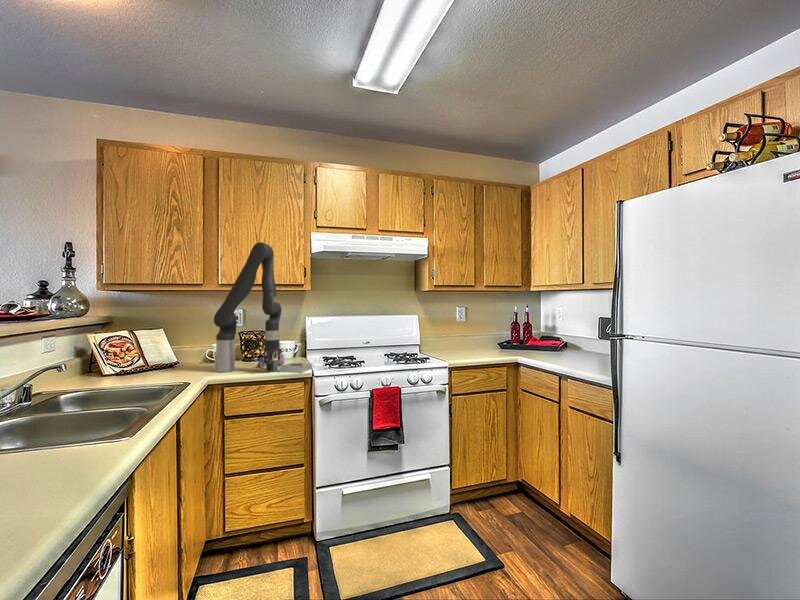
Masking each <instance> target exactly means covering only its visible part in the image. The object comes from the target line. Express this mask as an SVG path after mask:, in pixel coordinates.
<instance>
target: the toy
mask: <svg viewBox="0 0 800 600" xmlns="http://www.w3.org/2000/svg"><path fill="white" fill-rule="evenodd" d="M277 349H280V360H278V366H282V365H285V356H284V354H283V353H282V352H283V351H282V349H281V348H280V346H279V347H278V348H277ZM261 366H263V367H264V366H266V363H264V356H261V357H260V358H259V361H258V362H257V364H256V368H258V367H259V368H261Z"/></svg>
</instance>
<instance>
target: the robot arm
mask: <svg viewBox="0 0 800 600" xmlns="http://www.w3.org/2000/svg"><path fill="white" fill-rule="evenodd" d="M274 254H275V253H274V249H273V248H272V246H271V245H269V244H266V243H264V242H261V241H260V242H256V243H254V245H253V246H252V248H251V250H250V253H249V255H248V257H247V259H246V262H245V263H244V265H243V267H242V269H241V271H240V272H239V274H238V276H237V278H236V279H235V280H234V283H233V284H232V287H231V288H230V291H229V292H228V294H227V295H226V297H225V300H224V301H223V302H222V304H221V306H220V307H219V308H218V310H217V311H216V312H215V314H214V315H213V323H214V325H215V326H216V327H218V328H219V331H218V333H217V334H216V336H215V337H216V339H215V340H216V343H215V344H216V348H215V349H216V350H215V351H216V353H214V372H215V371H216V372H215V373H231V372H234V371H236V369H235V368H236V367H235V366H236V365H235V364H236V363H235V361H236V358H235V357H236V356H235V353H236V352H235V351H236V348H235V346H236V345H235V344H236V343H235V340H236V334H237V324H238V323H237V321H238V320H237V316H236V309H237V308H238V306H239V305H240V304H241V303H242V302H243V301H244V300H245V299H246V298H247V297H248V296H249V294H250V292H252V291H251V290H253V287H254V285H255V283H256V278H257V274H258V269H259V267H260V265H261V267H262V269H261V270H262V273H261V290H262V291H261V292H262V296H263V297H262V303H261V305H262V306H261V307H262V311H263V313H264V314H265V315H266V316H268V318H267V320H266V321H265V331H264V347H265V349H266V351H264V352H263V357H264V363H266V364H267V371H271V362H272V360H273V358H278V360H280V349H281V348H280V320H281V316H282V306H281V304H280V302H277V301H274V299H275V298H276V297H277V294H278V293H277V287H276V280H275V270H274V267H275V266H274ZM278 347H279V348H280V349H278ZM266 359H267V360H266ZM269 360H270V361H269Z"/></svg>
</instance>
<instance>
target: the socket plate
mask: <svg viewBox="0 0 800 600" xmlns="http://www.w3.org/2000/svg"><path fill="white" fill-rule="evenodd" d="M311 368H312V369H313V363H309V362H289V363H286V364H285V363H284V364H283V365H278V372H279V373H293V374H294V373H295V374H296V373H297V374H298V373H299V374H302V373H305V372H307V371H310V370H312V369H311ZM309 369H310V370H309Z"/></svg>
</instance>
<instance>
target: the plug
mask: <svg viewBox="0 0 800 600" xmlns="http://www.w3.org/2000/svg"><path fill="white" fill-rule="evenodd" d="M266 360H267V359H266ZM269 361H270V360H269ZM265 367H266V368H265V370H266V371H265V372H266V373H270V372H274V373H277V372H279V365H278V358H273V360H272V362H271V371H267V364H266V365H265ZM276 371H277V372H276Z"/></svg>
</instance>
